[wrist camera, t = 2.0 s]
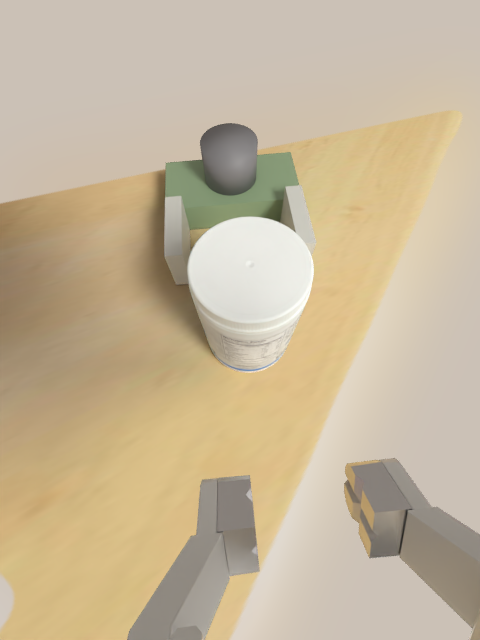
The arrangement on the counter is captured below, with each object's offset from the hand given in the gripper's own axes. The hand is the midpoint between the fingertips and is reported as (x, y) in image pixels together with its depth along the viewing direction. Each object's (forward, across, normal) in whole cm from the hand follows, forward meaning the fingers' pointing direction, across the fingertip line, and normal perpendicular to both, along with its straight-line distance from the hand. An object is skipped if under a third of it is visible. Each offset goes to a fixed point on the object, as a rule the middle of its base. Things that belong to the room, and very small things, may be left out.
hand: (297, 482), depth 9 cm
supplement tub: (+25, 0, +6) cm, 25 cm away
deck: (+37, 0, -6) cm, 37 cm away
